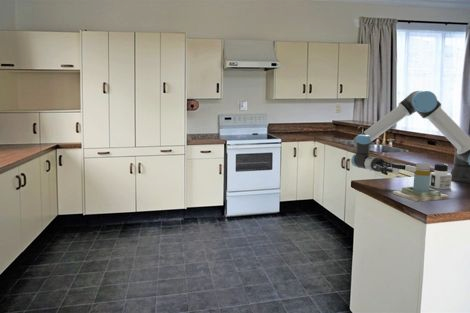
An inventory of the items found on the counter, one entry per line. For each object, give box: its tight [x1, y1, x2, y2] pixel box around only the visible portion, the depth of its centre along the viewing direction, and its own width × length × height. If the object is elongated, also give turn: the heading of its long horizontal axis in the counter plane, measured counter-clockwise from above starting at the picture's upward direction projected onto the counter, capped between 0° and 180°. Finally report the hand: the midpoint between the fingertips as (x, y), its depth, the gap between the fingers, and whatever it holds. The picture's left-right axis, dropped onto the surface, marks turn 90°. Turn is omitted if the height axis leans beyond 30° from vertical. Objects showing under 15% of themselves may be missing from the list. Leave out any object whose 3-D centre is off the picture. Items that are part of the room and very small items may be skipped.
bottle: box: [412, 162, 431, 193], centre depth 186 cm, size 7×7×15 cm
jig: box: [392, 186, 451, 203], centre depth 187 cm, size 20×16×3 cm
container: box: [429, 162, 452, 190], centre depth 205 cm, size 8×8×13 cm
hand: (407, 170), depth 193 cm, fingers open, 13 cm apart
